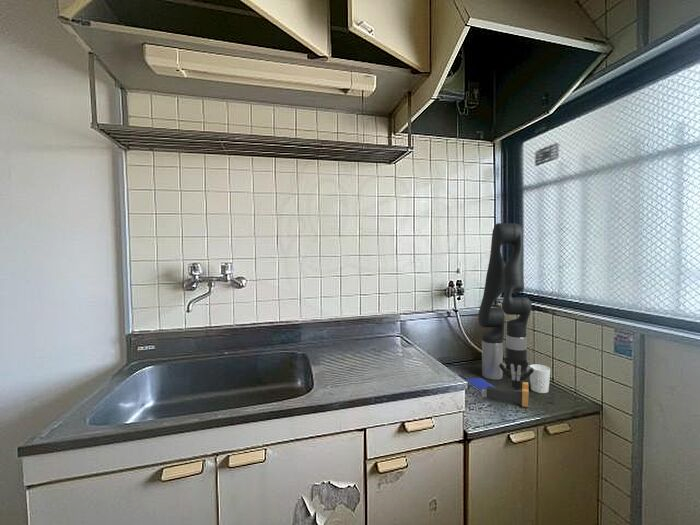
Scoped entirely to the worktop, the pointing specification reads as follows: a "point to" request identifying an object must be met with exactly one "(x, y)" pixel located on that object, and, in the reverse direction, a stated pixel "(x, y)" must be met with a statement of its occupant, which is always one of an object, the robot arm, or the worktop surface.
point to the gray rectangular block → (502, 395)
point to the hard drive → (479, 383)
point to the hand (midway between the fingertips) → (516, 388)
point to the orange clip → (525, 394)
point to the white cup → (540, 378)
